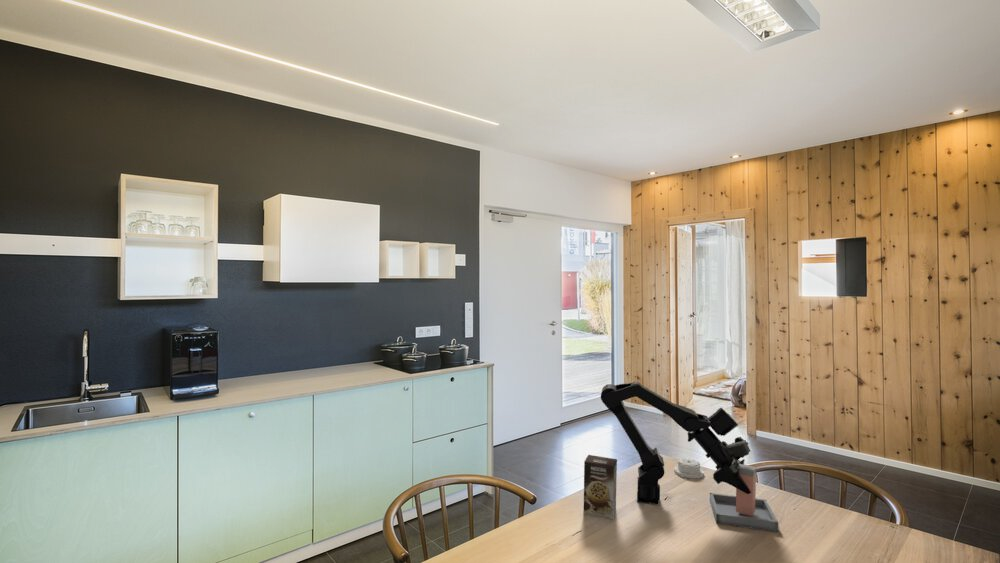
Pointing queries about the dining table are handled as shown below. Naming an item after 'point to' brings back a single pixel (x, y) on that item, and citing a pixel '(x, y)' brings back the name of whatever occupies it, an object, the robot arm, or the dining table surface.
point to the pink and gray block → (743, 500)
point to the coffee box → (600, 486)
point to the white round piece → (689, 469)
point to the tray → (728, 516)
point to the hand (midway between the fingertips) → (751, 490)
